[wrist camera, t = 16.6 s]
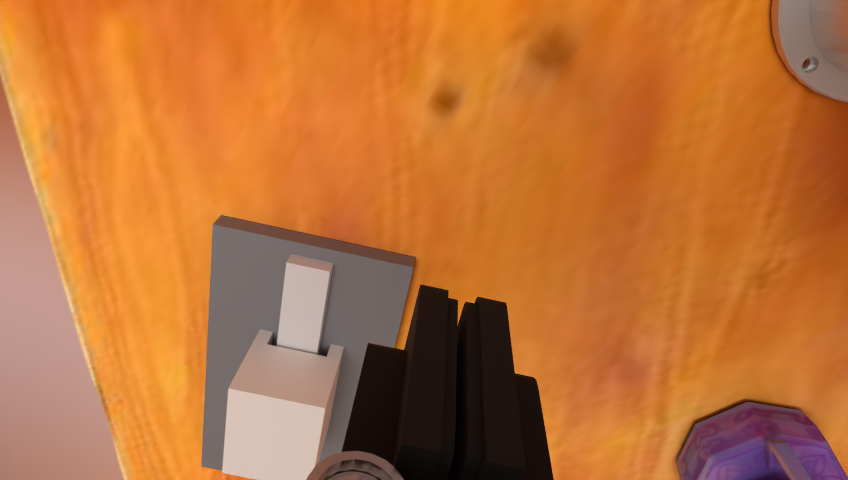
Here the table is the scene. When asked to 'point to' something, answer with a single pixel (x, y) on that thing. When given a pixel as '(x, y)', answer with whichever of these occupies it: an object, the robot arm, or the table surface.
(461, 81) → the table surface
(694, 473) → the lantern
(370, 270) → the rail board
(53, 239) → the table surface
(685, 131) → the table surface
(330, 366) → the block
